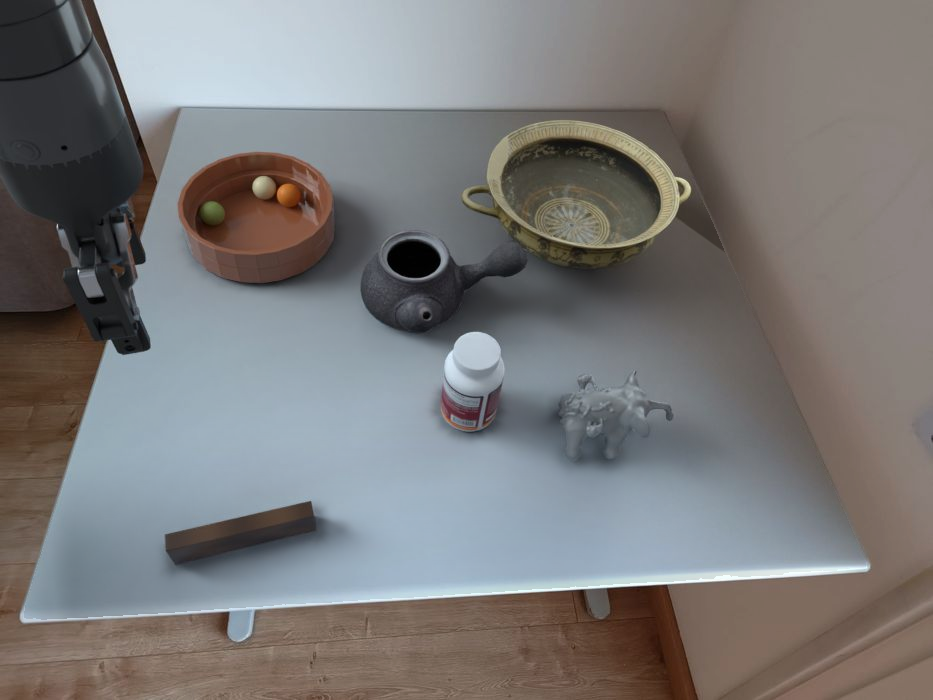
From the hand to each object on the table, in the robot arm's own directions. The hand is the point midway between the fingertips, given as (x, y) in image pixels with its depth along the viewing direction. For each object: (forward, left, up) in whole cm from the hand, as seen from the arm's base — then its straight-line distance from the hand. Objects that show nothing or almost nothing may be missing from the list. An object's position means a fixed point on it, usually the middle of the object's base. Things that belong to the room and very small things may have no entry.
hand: (133, 303), depth 53 cm
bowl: (+10, +30, -24) cm, 40 cm away
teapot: (+29, +14, -24) cm, 40 cm away
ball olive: (+4, +33, -23) cm, 41 cm away
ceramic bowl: (+49, +22, -24) cm, 59 cm away
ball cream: (+10, +36, -22) cm, 44 cm away
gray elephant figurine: (+42, -7, -24) cm, 49 cm away
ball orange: (+14, +36, -21) cm, 44 cm away
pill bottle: (+28, -1, -24) cm, 37 cm away
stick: (+3, -10, -24) cm, 26 cm away
